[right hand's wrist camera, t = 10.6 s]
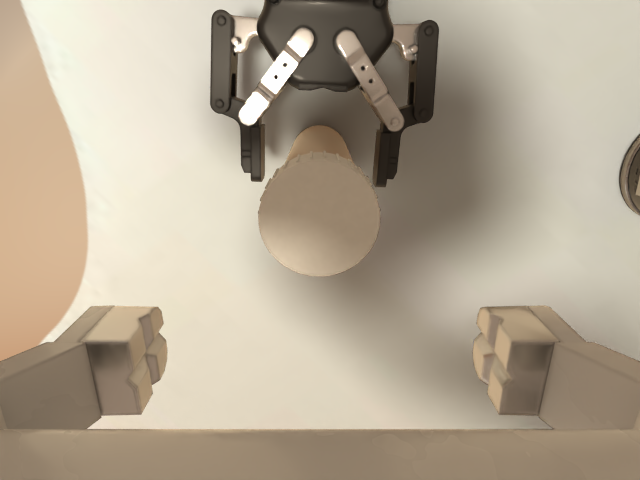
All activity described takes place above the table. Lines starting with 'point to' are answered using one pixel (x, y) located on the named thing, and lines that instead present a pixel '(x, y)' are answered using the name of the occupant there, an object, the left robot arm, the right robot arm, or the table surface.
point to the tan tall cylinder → (319, 142)
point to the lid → (319, 214)
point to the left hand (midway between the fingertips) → (318, 182)
